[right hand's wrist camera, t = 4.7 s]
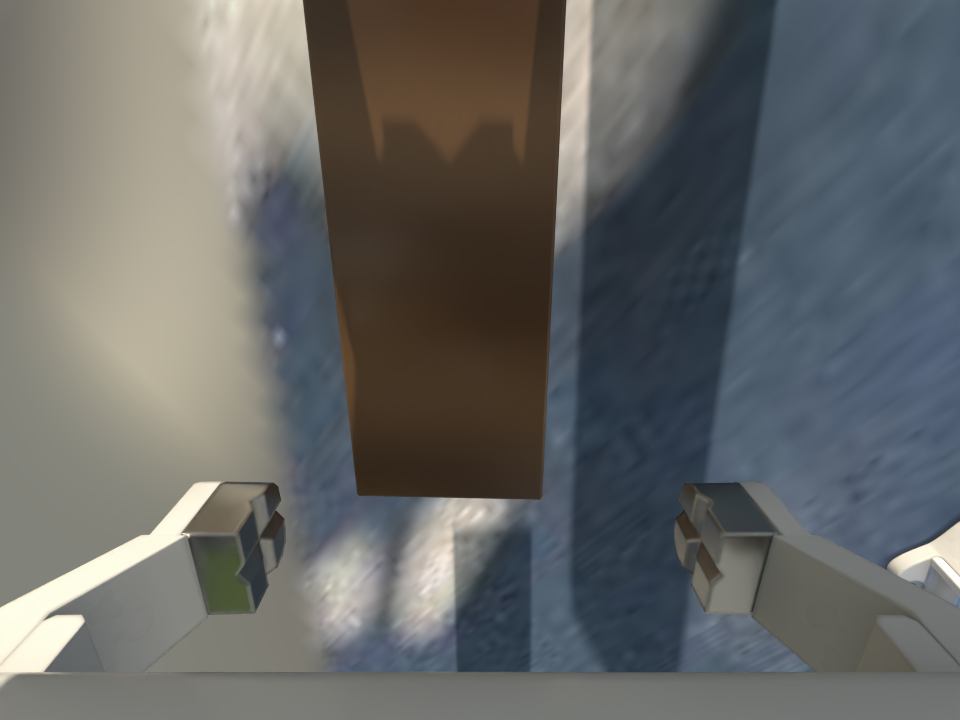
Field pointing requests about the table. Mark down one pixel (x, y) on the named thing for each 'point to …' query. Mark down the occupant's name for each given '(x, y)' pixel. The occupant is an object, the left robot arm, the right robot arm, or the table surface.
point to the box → (441, 234)
